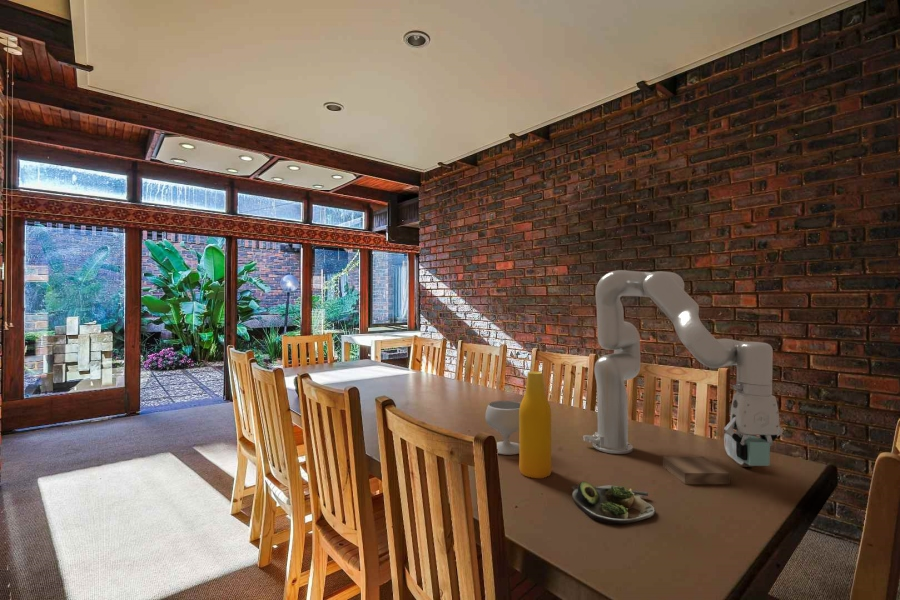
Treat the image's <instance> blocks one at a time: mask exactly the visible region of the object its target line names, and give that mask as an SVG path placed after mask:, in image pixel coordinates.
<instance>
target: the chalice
mask: <svg viewBox="0 0 900 600" xmlns="http://www.w3.org/2000/svg"><path fill="white" fill-rule="evenodd" d="M520 404H521V402H518V401H515V400H514V401H513V400H496V401H491V402H489V404H488V405H487V407H486V411H485V415H484V416H485V417H484V418H485V419H484V420H485V421H486V423H487V426H489V427H490V428H492V429H493V430H496V431H497V432H499V433H500V434H501V436H502V437H503V441H496V442H497V449H498V453H497V454H498V455H505V456H507V455H508V456H510V455H511V456H512V455H518V454H519V443H518V442H513V441H510V437H511V435H512V434H513V433H515V432H517V431H519V409H520Z"/></svg>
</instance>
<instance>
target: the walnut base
mask: <svg viewBox="0 0 900 600" xmlns="http://www.w3.org/2000/svg"><path fill="white" fill-rule="evenodd" d="M662 467H663V468H664V469H665V470H666V469H667V470H666V471H668V472H669V473H670V474H671V475H673V476H674V477H675V478H676V479H678V480H679V481H680V482H682V483H683V484H684V485H730V484H731V483H730V478H731V477H730V476H731V475H730V472H728V471H727V470H726V469H724V468H722V467H720V466H719V465H717V464H715V463H714V462H713V461H711V460H709V459H708V458H706V457H704V456H662Z"/></svg>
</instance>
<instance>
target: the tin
mask: <svg viewBox="0 0 900 600" xmlns="http://www.w3.org/2000/svg"><path fill="white" fill-rule="evenodd" d="M733 431H734V432H735V433H736V430H733ZM722 436H723V439H722V440H723V448H724V451H725V453H726V454H727V457H729V458H730V459H731V460H732V461H733V462H735V463H736V464H737V465H738V466H739V467H742V468H753V467H754V466H750V465H748V464H746V463H745V462H743V461H741V460H739V459H738V458H737V454H736V441H734V439H733V438H732V437H731V436H730V435H729V434H728V433H726V432H725V431H724V432H723V434H722Z"/></svg>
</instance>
